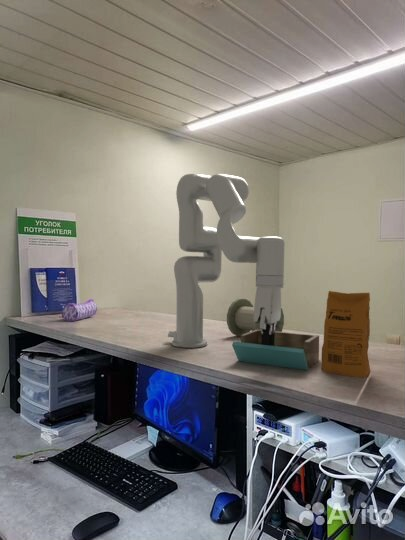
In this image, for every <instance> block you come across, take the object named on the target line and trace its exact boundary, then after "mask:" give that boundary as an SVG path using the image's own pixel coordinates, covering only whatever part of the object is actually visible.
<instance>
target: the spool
mask: <svg viewBox="0 0 405 540" xmlns="http://www.w3.org/2000/svg"><path fill="white" fill-rule="evenodd" d="M226 325H227V328H228V330H229V332H230V333H231V334H232V335H234V336H236V337H241V335H243V334H245V333H248V332H251V331H254V330H261V329H260V322H259V323H255V322H254V305H253V304H252V303H251V301H250V300H248V299H246V298H237V299H235V300H234V301H232V302H231V304H230V305H229V307H228V309H227V313H226ZM284 325H285V316H284V310H283V308H282V307H281V317H280V320H279V321H277V322H276V325H275V331H276V332H283V329H284Z"/></svg>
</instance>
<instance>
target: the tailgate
mask: <svg viewBox="0 0 405 540" xmlns="http://www.w3.org/2000/svg"><path fill="white" fill-rule="evenodd" d="M231 345H232V349H233V350H234V353H235V356H236V359H237V361H239V362H245V363H251V364H252V363H253V364H260V365H267V366H274V367H275V366H276V367H281V368H290V369H297V370H303V371H308V370H309V369H308V365H307V361H306V357H305V353H304V349H296V348H287V347H278V346H269V345H260V344H252V343H243V342H241V341H240V342H239V341H233V342H232V343H231Z"/></svg>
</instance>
